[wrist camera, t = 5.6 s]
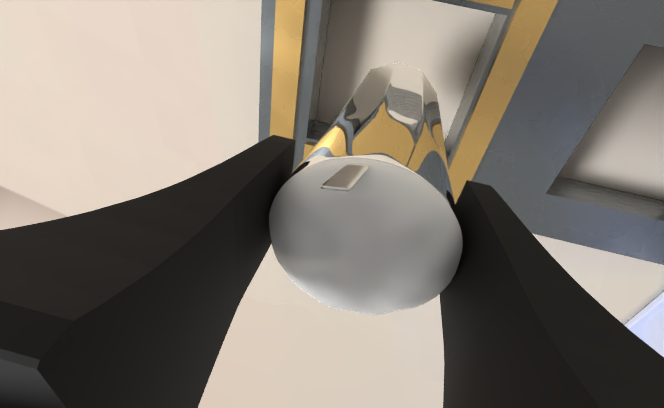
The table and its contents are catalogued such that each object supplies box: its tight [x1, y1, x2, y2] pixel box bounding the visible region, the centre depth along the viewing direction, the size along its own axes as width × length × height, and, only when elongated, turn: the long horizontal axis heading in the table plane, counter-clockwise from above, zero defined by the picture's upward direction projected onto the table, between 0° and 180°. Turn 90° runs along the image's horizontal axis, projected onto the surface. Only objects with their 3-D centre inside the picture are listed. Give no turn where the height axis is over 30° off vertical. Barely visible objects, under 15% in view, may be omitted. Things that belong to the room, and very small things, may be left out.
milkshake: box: [269, 62, 463, 315], centre depth 11 cm, size 4×5×10 cm
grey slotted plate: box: [259, 0, 664, 265], centre depth 16 cm, size 24×12×2 cm, turn 81°
